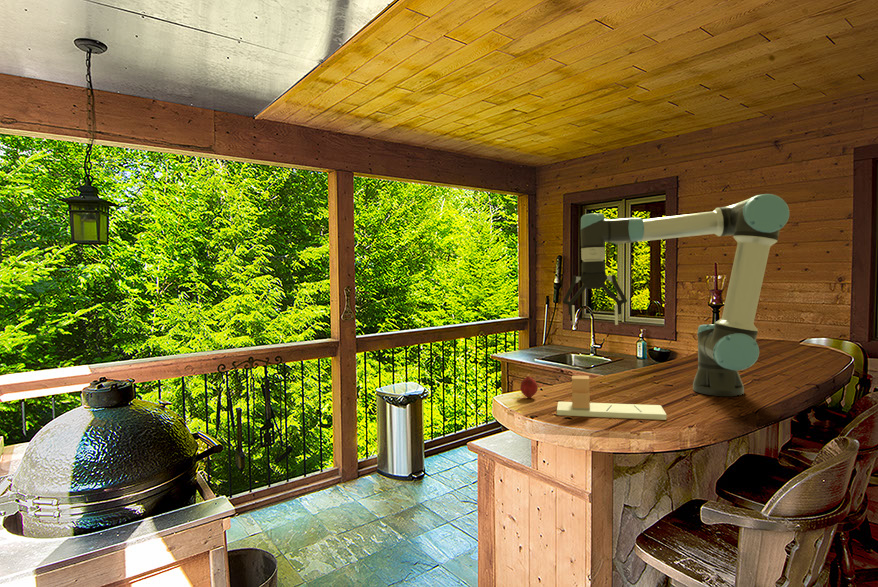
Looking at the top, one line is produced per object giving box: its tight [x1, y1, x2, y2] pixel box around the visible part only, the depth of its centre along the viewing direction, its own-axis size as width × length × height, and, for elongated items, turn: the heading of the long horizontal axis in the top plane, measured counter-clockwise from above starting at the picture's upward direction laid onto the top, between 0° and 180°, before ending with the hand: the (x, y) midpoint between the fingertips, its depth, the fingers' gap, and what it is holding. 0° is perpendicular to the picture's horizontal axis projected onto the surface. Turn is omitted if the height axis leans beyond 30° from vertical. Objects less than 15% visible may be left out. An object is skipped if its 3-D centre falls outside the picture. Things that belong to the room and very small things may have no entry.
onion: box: [520, 374, 538, 399], centre depth 166 cm, size 6×6×8 cm
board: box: [556, 401, 667, 421], centre depth 146 cm, size 30×10×2 cm, turn 74°
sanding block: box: [571, 375, 591, 410], centre depth 148 cm, size 5×8×9 cm, turn 164°
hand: (594, 324), depth 162 cm, fingers open, 13 cm apart
